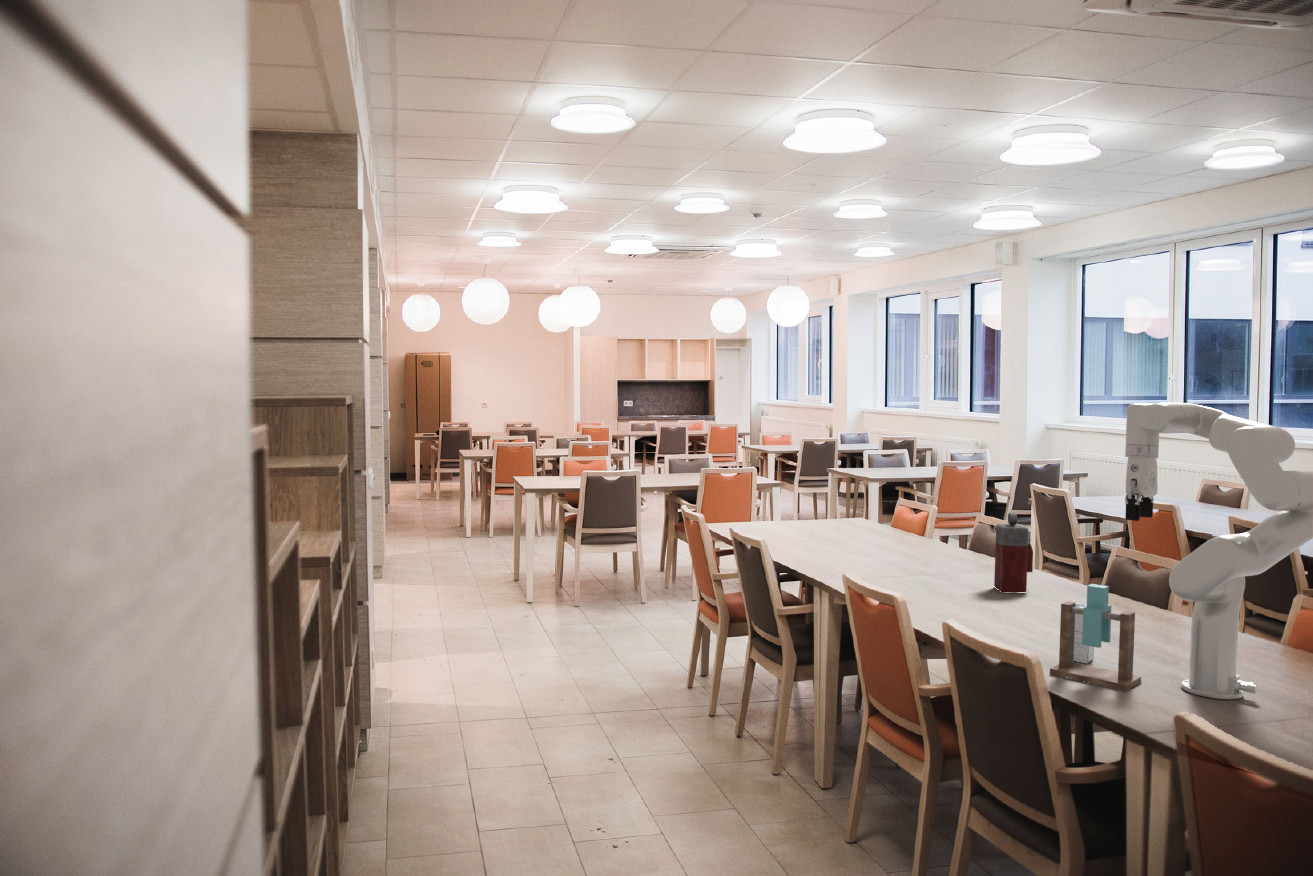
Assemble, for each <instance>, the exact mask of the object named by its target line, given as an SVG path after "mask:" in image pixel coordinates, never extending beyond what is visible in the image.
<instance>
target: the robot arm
mask: <svg viewBox="0 0 1313 876" xmlns="http://www.w3.org/2000/svg"><path fill="white" fill-rule="evenodd" d="M1125 424H1126V425H1125V426H1126V428H1125V451H1124V454H1125V455H1124V457H1125V458H1127V463H1126V465H1127V466H1126V472H1125V473H1126V474H1125V494H1126V495H1125V498H1126V500H1125V517H1124V518H1125V520H1126V521H1132V522H1133V521H1135V522H1138V521H1140V520H1141V518H1149V519H1150V518H1151V519H1152V518H1153V515H1154V501H1155V500H1154V499H1155V498H1154V497H1155V496H1156V495H1157V494H1158V461H1157V459H1159V453H1160V452H1159V447H1160V434H1188V435H1194V436H1198V437H1201V438H1205V439H1208V442H1209V444H1210V445H1211V447H1212V448H1213V449H1214V450H1216V451H1217V450H1218V451H1221V452H1225V453H1227V454H1228V456H1229V458H1230V461H1231V463H1232V464H1233V466H1234V468H1235V470H1236V472H1238V473H1237V474H1239V476H1240V477H1241V479H1242V481H1243V483H1244V484H1245V486H1246V488H1247V489H1248V491H1249V493H1250V494H1251V496H1252V497H1253V499H1254V500H1256V502H1257V503H1258V504H1259V505H1261V506H1262V507H1263V508H1265V509H1268V510H1271V511H1277V512H1276V513H1274V514H1272V515H1270V516H1268V517H1266V518H1265V519H1264V520H1263V521H1261V523H1259V524H1257V525H1255V526H1254V527H1253V528H1251V529H1250V530H1248V531H1246V532H1245V531H1244V532H1242V533H1234V534H1222V535H1221V534H1220V535H1217V536H1215V537H1212V538H1210V539H1209V540H1207V541H1205V542H1204V543H1202V544H1201V545H1200V546H1199V547H1197V548H1195V549H1193V551H1192V552H1190V553H1189V554H1187V555H1186V556H1185V557H1184V558H1182V559H1180V560H1179V561H1178V562H1177V563H1176V564H1175V565H1174V566H1173V567H1172V569H1171V571H1170V573H1169V576H1168V577H1169V578H1168V583H1169V588H1170V590H1171V592H1172V593H1173V594H1174V595H1175V596H1176V597H1177V598H1179V599H1180V600H1183V601H1186V602H1192V603H1193V602H1195V603H1194V604H1193V609H1192V613H1191V614H1192V615H1191V627H1190V647H1189V648H1190V650H1189V651H1190V652H1189V672H1188V679H1184V680H1182V681H1181V685H1180V687H1181V688H1182V689H1183V690H1184V691H1185V692H1188V693H1190V694H1192V695H1197V696H1199V697H1205V698H1210V699H1217V700H1238V699H1241V698H1243V697H1244V692H1246V693H1248V694H1254V695H1256V694H1257V692H1258V685H1256V684H1254V683H1253V682H1247V681H1243V679H1242V680H1241V675H1240V674H1237V666H1238V665H1237V664H1238V645H1239V629H1240V628H1239V627H1240V626H1239V622H1240V612H1241V604H1242V601H1243V596H1244V593H1245V589H1246V578H1245V577H1251V576H1258V575H1261V574H1262V573H1264V572H1266V571H1267V570H1269V569H1271V568H1272V567H1273V566H1275V565H1276V564H1277V563H1279V562H1280V561H1282V560H1283V559H1284V558H1286V557H1288V556H1290V554H1293V552H1294V551H1296V550H1297V549H1299V548H1300V547H1303V545H1305V544H1306V543H1308V542H1310V541H1311V540H1312V539H1313V471H1311V470H1283V468H1282V466H1281V465H1280V463H1283V462H1285V461H1287V460H1289V459H1290V457H1292V455H1293V454H1294V452H1295V449H1296V441H1295V439H1294V437H1293V435H1292V434H1291V433H1290V432H1288V431H1287V430H1285V429H1283V428H1281V427H1279V426H1275V425H1271V424H1267V423H1263V422H1259V421H1255V420H1251V419H1247V418H1243V417H1240V416H1235V415H1231V414H1229V413H1226V412H1225V411H1222V410H1219V409H1216V408H1212V407H1208V406H1203V405H1199V404H1195V403H1189V402H1157V403H1149V402H1148V403H1147V402H1139V403H1138V402H1134V403H1133V402H1132V403H1130V404H1129V405H1128V406H1127V408H1126V423H1125Z"/></svg>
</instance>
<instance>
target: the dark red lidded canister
mask: <svg viewBox="0 0 1313 876" xmlns="http://www.w3.org/2000/svg"><path fill="white" fill-rule="evenodd" d="M1017 522H1018V514H1017V513H1016V512H1008V514H1007V523H998V524H997V523H996V526H995V548H994V549H995V551H994V552H995V553H994V554H995V555H994V578H993V579H994V580H993V581H994V582H993V583H994V584H993V585H994V586H995V587H996V588H997V589H999V591H1001V592H1026V593H1027V585H1028V573H1033V569H1034V568H1033V567H1034V565H1033V564H1034V563H1033V562H1034V550H1033V547H1032V544H1031V543H1029V528H1028V527H1026V526H1024V525H1022V524H1017ZM999 591H998V592H999Z"/></svg>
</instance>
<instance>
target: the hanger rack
mask: <svg viewBox="0 0 1313 876" xmlns="http://www.w3.org/2000/svg"><path fill="white" fill-rule="evenodd" d="M1076 603H1077V602H1073V601H1064V602H1062V603H1061V604H1060V624H1059V625H1060V626H1059V627H1060V629H1059V654H1058V657H1059V658H1058V664H1057V665H1054V666H1052V667H1050V668H1049V675H1050V674H1052V675H1051V676H1054V675H1056V676H1055V677H1059V676H1060V678H1063V677H1068V678H1072V679H1071V680H1073V679H1075V680H1074V681H1077V680H1079V681H1078V682H1082V681H1085V682H1084V683H1086V682H1089V683H1088V684H1091V683H1093V684H1092V685H1095V684H1096V685H1097V686H1100V685H1102V686H1101V687H1104V686H1106V687H1105V688H1109V687H1110V689H1114V690H1118V689H1120V690H1119V691H1122V690H1124V691H1123V692H1128V691H1129V689H1130V690H1131V689H1133V688H1134V686H1135V685H1136V686H1138V685H1140V684H1141V683H1142V676H1140V675H1135V674H1133V673H1134V653H1135V652H1134V649H1135V648H1134V647H1135V627H1136V625H1135V623H1136V612H1134V611H1129V610H1126V611H1122V612H1121V613H1120V614H1118V613H1113V612H1111V613H1107V612H1106V613H1104V614H1102V618H1105V619H1111V621H1117V622H1119V640H1118V641H1119V642H1118V667H1117V668H1118V670H1117V671H1116V670H1112V669H1107V668H1101V667H1097V666H1092V665H1087V664H1084V663H1079V662H1074V634H1075V613H1076V614H1082V615H1083V608H1077V607H1076ZM1068 678H1067V679H1068ZM1140 682H1141V683H1140ZM1139 683H1140V684H1139ZM1096 685H1095V686H1096ZM1136 686H1135V687H1136ZM1132 687H1133V688H1132ZM1127 690H1128V691H1127Z"/></svg>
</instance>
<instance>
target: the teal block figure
mask: <svg viewBox="0 0 1313 876" xmlns="http://www.w3.org/2000/svg"><path fill="white" fill-rule="evenodd" d="M1109 591H1110V587H1109V585H1104V584H1103V585H1101V584H1095V583H1090V584H1088V585H1087V587H1086V604H1087V606H1085V607H1083V636H1082V645H1087V646H1092V647H1094V648H1097V649H1098V648H1099V649H1100V648H1102V643H1108V644H1109V643H1111V633H1112V632H1111V631H1112V630H1111V629H1112V626H1111V625H1112V620H1111V619H1105V618H1102V614H1104V613H1106V612H1107V613H1112V604H1109V594H1110V593H1109Z"/></svg>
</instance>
